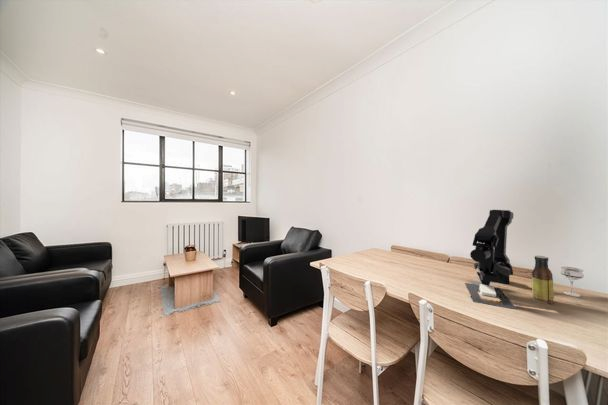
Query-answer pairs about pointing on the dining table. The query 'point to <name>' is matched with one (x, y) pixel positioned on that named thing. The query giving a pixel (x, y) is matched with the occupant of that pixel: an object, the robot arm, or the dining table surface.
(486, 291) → the clip block
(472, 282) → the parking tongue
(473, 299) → the plate
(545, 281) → the sauce bottle
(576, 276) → the wineglass
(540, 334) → the dining table surface
